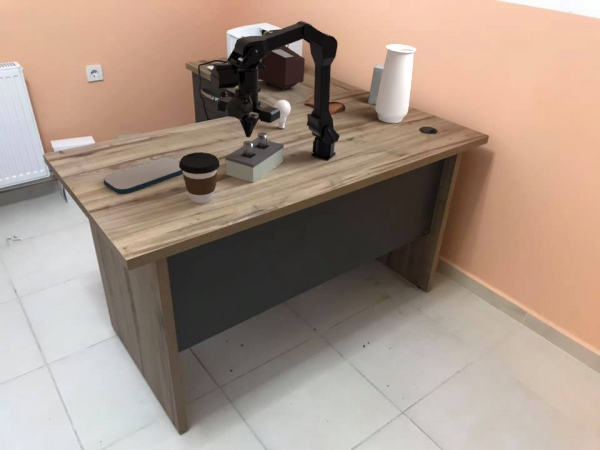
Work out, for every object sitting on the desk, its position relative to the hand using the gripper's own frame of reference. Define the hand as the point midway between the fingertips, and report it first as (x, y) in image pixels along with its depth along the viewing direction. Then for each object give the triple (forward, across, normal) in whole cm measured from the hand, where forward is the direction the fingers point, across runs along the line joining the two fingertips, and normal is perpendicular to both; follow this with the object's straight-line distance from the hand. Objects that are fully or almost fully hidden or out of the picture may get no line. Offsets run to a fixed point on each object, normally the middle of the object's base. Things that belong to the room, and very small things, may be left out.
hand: (248, 136), depth 149 cm
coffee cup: (+12, -2, -21) cm, 24 cm away
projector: (+12, -38, +82) cm, 91 cm away
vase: (+12, +21, +73) cm, 77 cm away
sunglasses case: (+13, -8, +69) cm, 70 cm away
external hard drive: (+12, -24, -20) cm, 33 cm away
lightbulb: (+12, -10, +38) cm, 41 cm away
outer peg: (+7, 0, 0) cm, 7 cm away
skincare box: (+12, +10, +89) cm, 90 cm away
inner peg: (+7, 0, +8) cm, 11 cm away
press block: (+12, 0, +4) cm, 13 cm away
